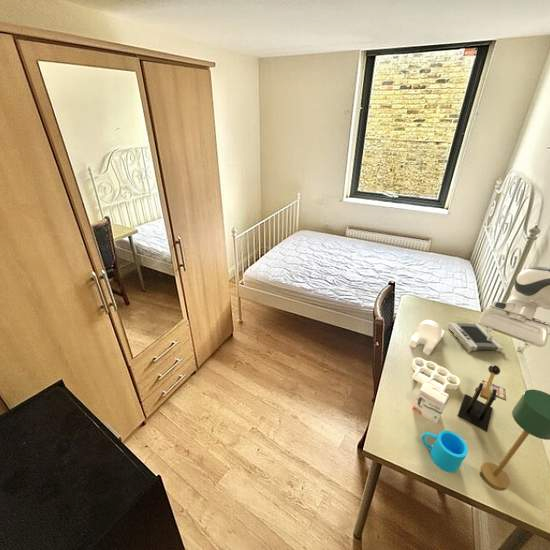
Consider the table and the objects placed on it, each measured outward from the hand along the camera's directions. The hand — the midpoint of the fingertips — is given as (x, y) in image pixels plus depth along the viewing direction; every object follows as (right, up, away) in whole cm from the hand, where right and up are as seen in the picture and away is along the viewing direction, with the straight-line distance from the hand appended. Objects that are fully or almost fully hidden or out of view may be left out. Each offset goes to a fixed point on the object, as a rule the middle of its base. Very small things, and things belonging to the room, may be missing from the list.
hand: (503, 346), depth 107 cm
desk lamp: (-19, -35, -19) cm, 44 cm away
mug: (-32, -31, -14) cm, 47 cm away
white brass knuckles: (-19, -17, +13) cm, 29 cm away
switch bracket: (-12, -24, -1) cm, 27 cm away
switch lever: (-8, -12, -3) cm, 15 cm away
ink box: (-29, -24, -1) cm, 38 cm away
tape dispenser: (-12, -6, +33) cm, 35 cm away
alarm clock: (+13, -5, +35) cm, 37 cm away
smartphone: (+4, -18, +11) cm, 22 cm away
